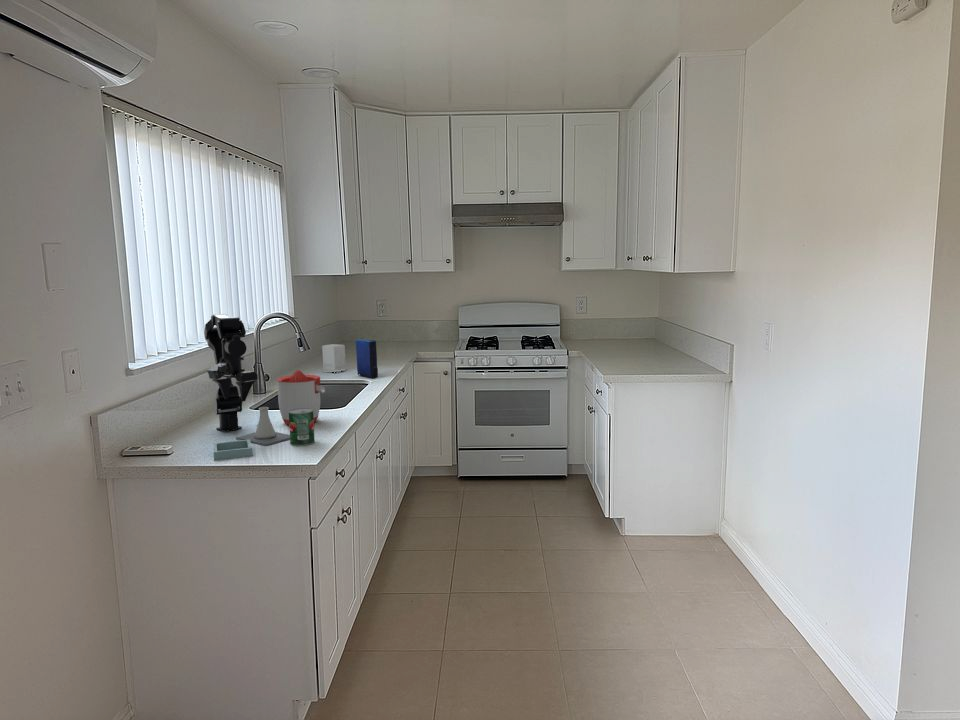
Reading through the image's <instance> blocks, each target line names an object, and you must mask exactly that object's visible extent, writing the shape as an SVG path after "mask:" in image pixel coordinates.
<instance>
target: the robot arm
mask: <svg viewBox="0 0 960 720" xmlns="http://www.w3.org/2000/svg"><path fill="white" fill-rule="evenodd" d="M244 324H245V323H244V322H243V321H242V319H241V318H240V317H239V316H228V315H227V314H225V313H217V314H216V313H213V314H211V316H210V319H209V320H208V321H207V322H206V323H205V324H204V339H205V340H206V342H207V346H208V348H210V349H211V350H212V351H213V355H214V363H215V364H214V365H212V366H211V367H209V368H207V369H206V372H207V374H208V378H209V379H210V380H211V381H212V382H214V383H216V384H217V385H218V390H217V392H216V395H215V398H214V403H213V404H214V405H213V409H214V414H216V415H218V418H219V419H218V420H219V427H215V429H216V430H217V431H223V432H228V433H229V432H232V431H234V430H239V429H242V428H243V426H239V419H238V418H239V417H238V413H242V411H243V402H246V400H247V397H248V396H249V394H250V392H251V388H252V386H253V384H254V383H255V382H256V381H257V380H258V379H259V375H258V373H257V371H254V370H245V368H242V361H243V360H245V357H244V355H245V354H246V352H247V344H246V343H245V342H244V340H241V338H245V337H246V334H247V331H246V328H245V325H244ZM232 378H234V379H235V380H236V381H235V384H237V386H236V385H234V384H233V381H232ZM238 387H239V389H238ZM239 392H240V393H239Z"/></svg>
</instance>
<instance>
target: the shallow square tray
mask: <svg viewBox="0 0 960 720" xmlns="http://www.w3.org/2000/svg"><path fill="white" fill-rule="evenodd" d="M212 445H213V446H212V447H213V460H214V461H220V460H228V459H237V458H244V457H245V458H246V457H253V456H254V455H253V446H252V443H251V442H250V439H249V440H231V441H222V442H221V441H220V442H213V444H212Z"/></svg>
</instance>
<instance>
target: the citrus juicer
mask: <svg viewBox="0 0 960 720" xmlns="http://www.w3.org/2000/svg"><path fill="white" fill-rule="evenodd" d="M276 381H277V398H278V408H279V414H280V415H281V419H282V420H283V423H284V424H285V425H287V426H289V410H292V409H297V408H311V409H313V417H314V423H317V421H318V418H319V414H320V408H321V393H322V394H323V393H326V389H325V387H324V386H322V385H321V377H320V376H319V375H316V374H305V373H303V372H302V371H301V370H299V369H297V370H296V371H294V373H293V374H291V375H286V376H285V375H284V376H281V377H278V378H276Z"/></svg>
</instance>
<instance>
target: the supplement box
mask: <svg viewBox="0 0 960 720" xmlns="http://www.w3.org/2000/svg"><path fill="white" fill-rule="evenodd" d="M321 348H322V349H321V351H322V366H323V367H322V369H326V370H341V369H345V368H346V365H347V364H346V348H345V344H336V343H333V344H332V343H331V344H324V345H321ZM341 371H344V372H346V371H345V370H341ZM341 371H336V372H339V373H342V372H341ZM323 372H324V370H323ZM327 372H333V371H326V372H325V373H327ZM333 374H336V373H335V372H334V373H333Z"/></svg>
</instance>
